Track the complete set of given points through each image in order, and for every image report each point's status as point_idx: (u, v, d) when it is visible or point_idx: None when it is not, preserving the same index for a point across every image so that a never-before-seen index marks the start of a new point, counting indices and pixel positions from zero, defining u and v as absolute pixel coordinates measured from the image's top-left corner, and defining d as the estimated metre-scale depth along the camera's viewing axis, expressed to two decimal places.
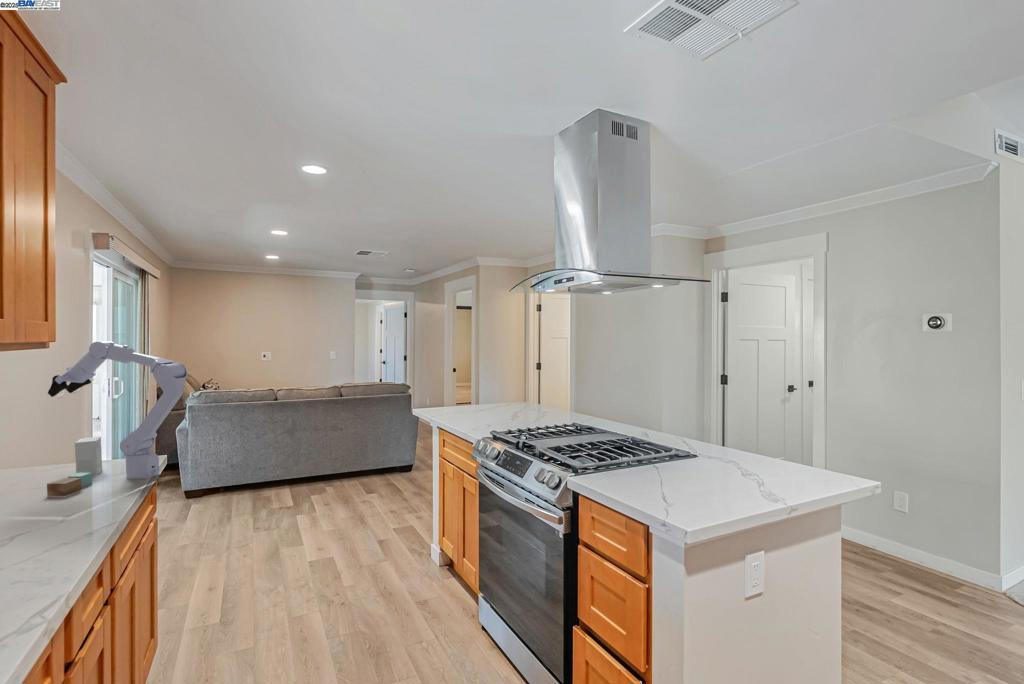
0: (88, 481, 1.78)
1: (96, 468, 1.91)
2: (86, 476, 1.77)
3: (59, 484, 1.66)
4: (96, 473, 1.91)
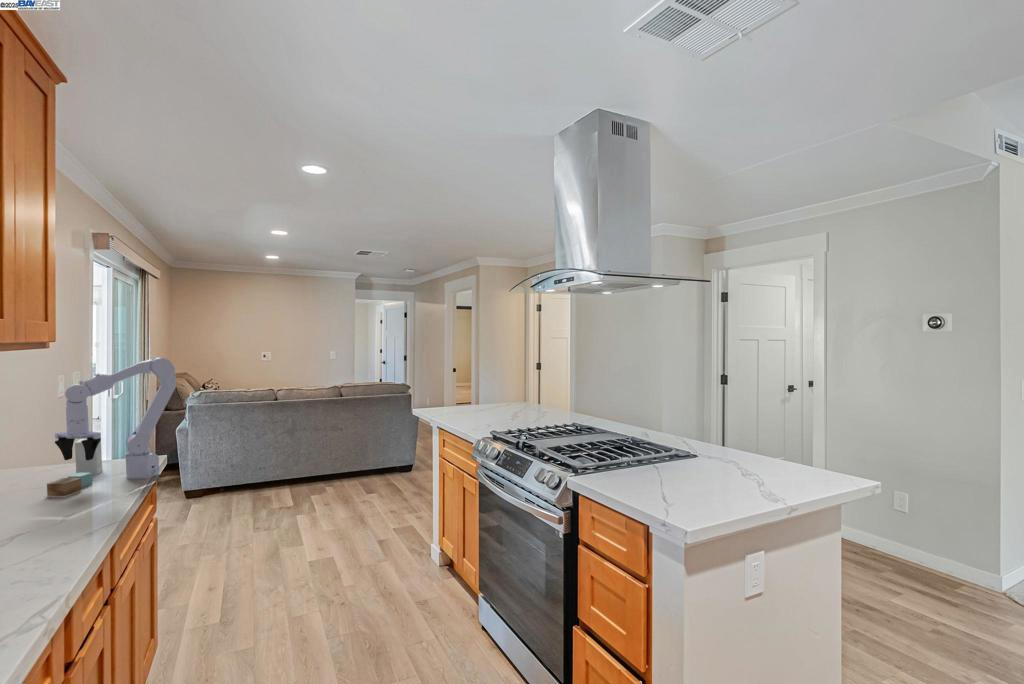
0: (88, 481, 1.78)
1: (96, 468, 1.91)
2: (86, 476, 1.77)
3: (59, 484, 1.66)
4: (96, 473, 1.91)
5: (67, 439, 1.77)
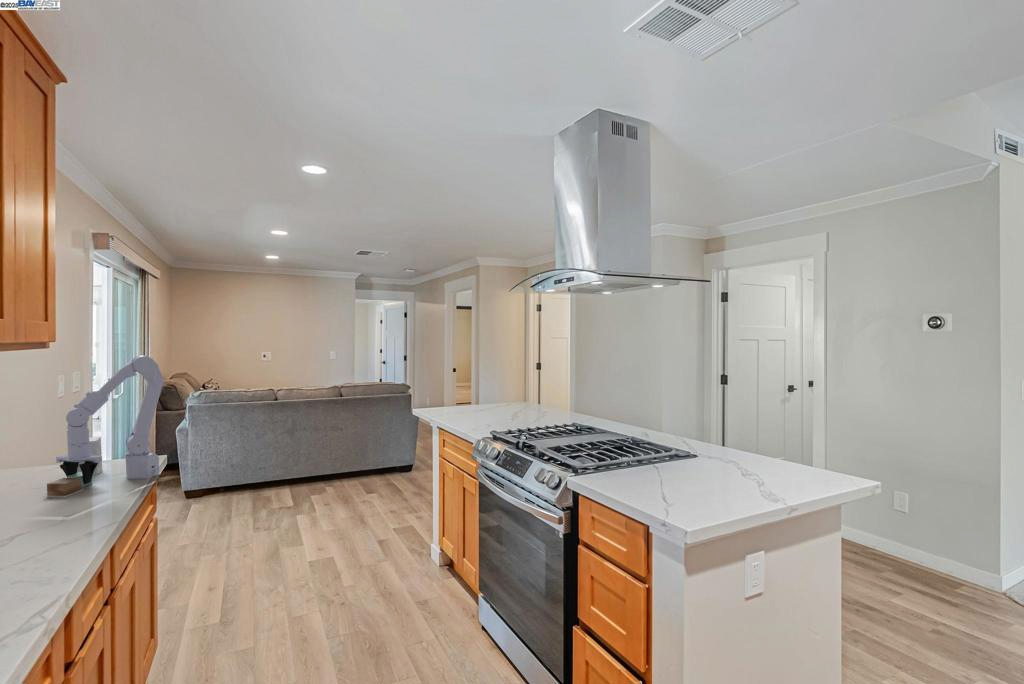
0: None
1: (96, 468, 1.91)
2: None
3: (59, 484, 1.66)
4: (96, 473, 1.91)
5: (72, 463, 1.77)
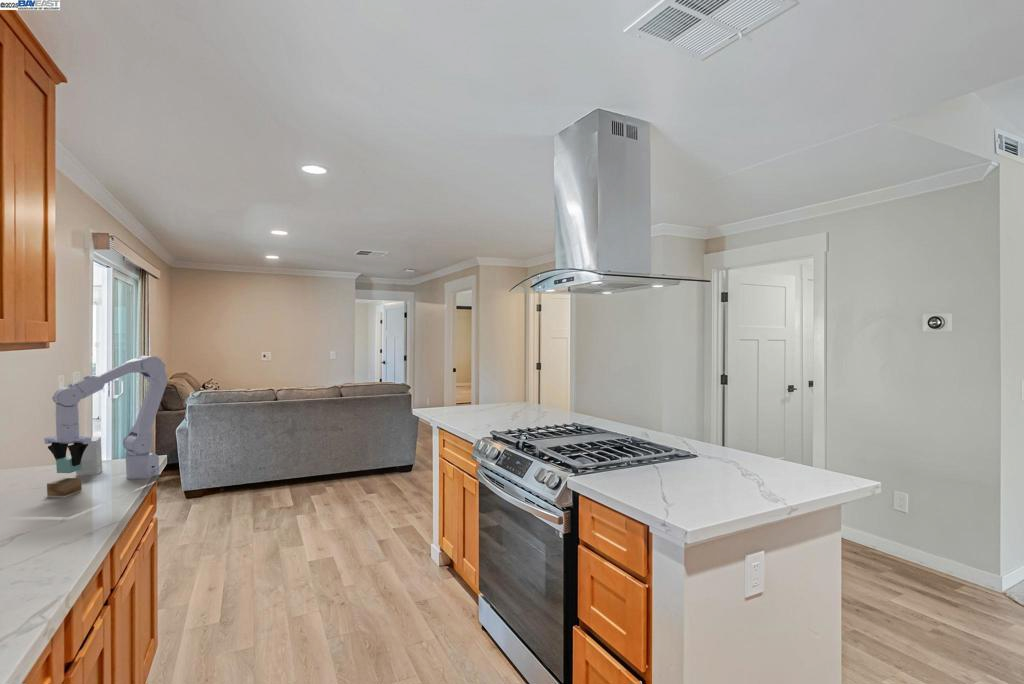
0: None
1: (96, 468, 1.91)
2: None
3: (59, 484, 1.66)
4: (96, 473, 1.91)
5: (60, 444, 1.72)
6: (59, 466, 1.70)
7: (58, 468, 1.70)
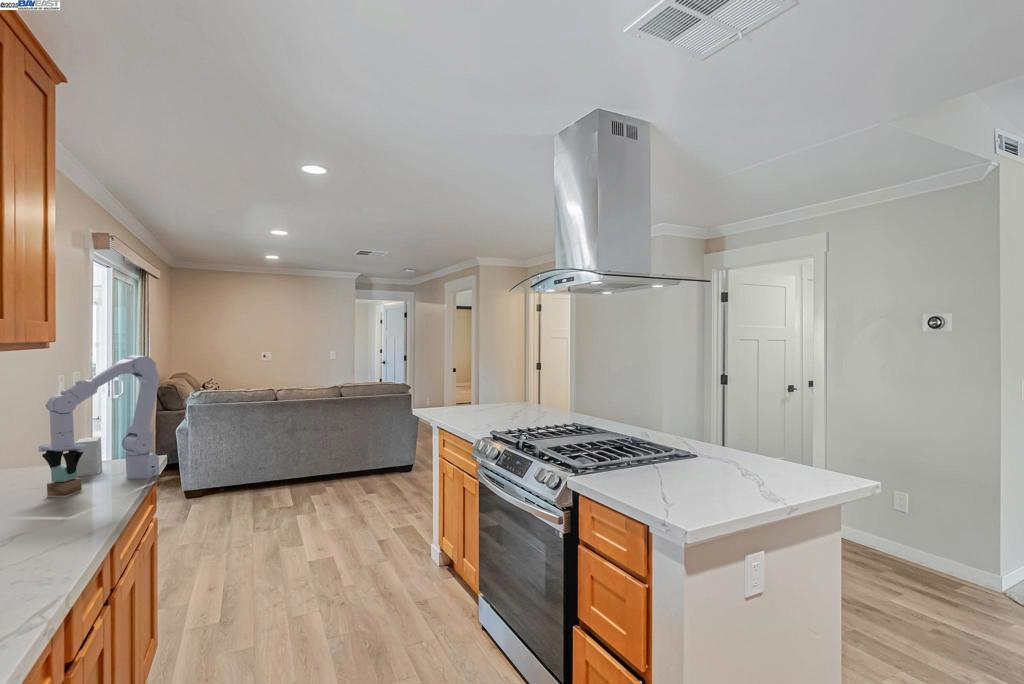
0: (73, 473, 1.70)
1: (96, 468, 1.91)
2: None
3: (59, 484, 1.66)
4: (96, 473, 1.91)
5: (55, 452, 1.69)
6: (54, 474, 1.67)
7: (53, 476, 1.67)
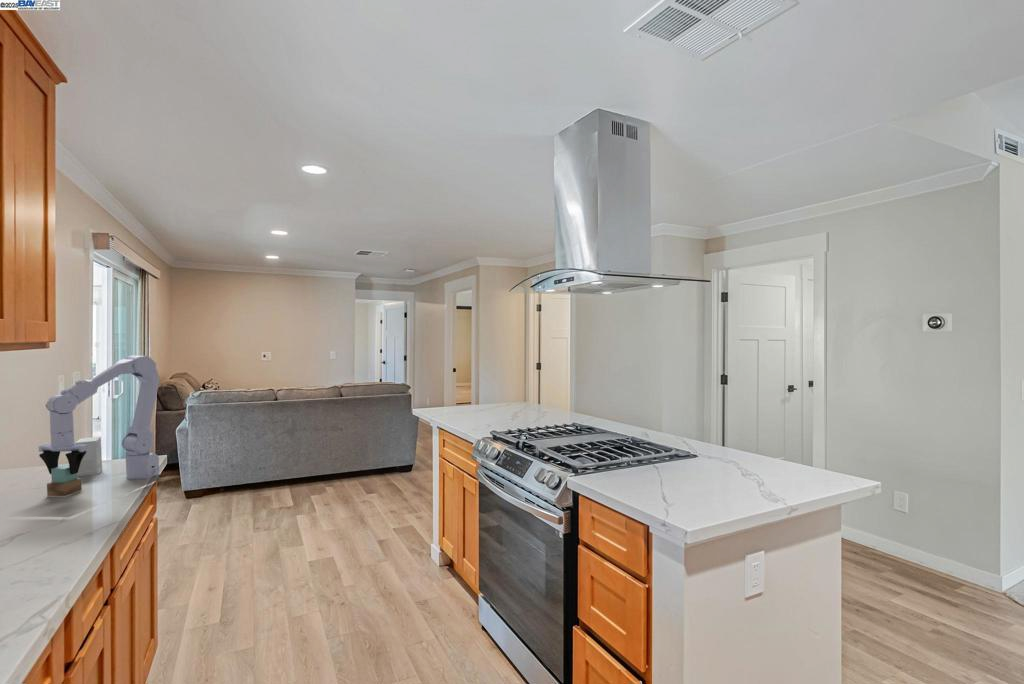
0: (73, 474, 1.70)
1: (96, 468, 1.91)
2: None
3: (59, 484, 1.66)
4: (96, 473, 1.91)
5: (52, 452, 1.69)
6: (54, 475, 1.67)
7: (53, 478, 1.67)
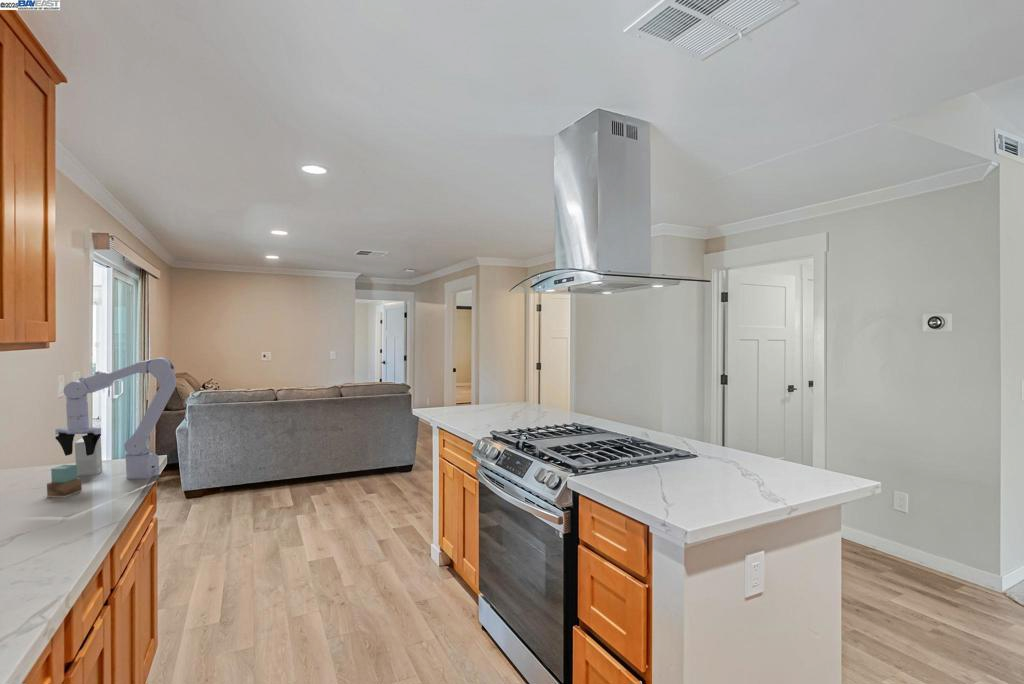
0: (73, 474, 1.70)
1: (96, 468, 1.91)
2: (71, 468, 1.69)
3: (59, 484, 1.66)
4: (96, 473, 1.91)
5: (67, 435, 1.80)
6: (54, 475, 1.67)
7: (53, 478, 1.67)
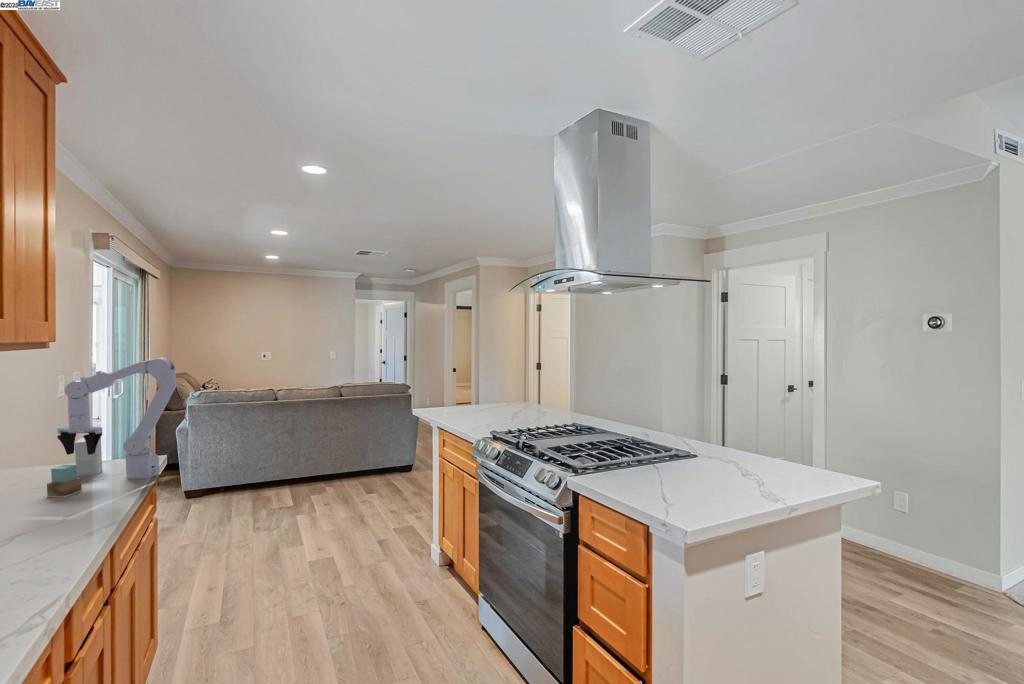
0: (73, 474, 1.70)
1: (96, 468, 1.91)
2: (71, 468, 1.69)
3: (59, 484, 1.66)
4: (96, 473, 1.91)
5: (69, 434, 1.81)
6: (54, 475, 1.67)
7: (53, 478, 1.67)
